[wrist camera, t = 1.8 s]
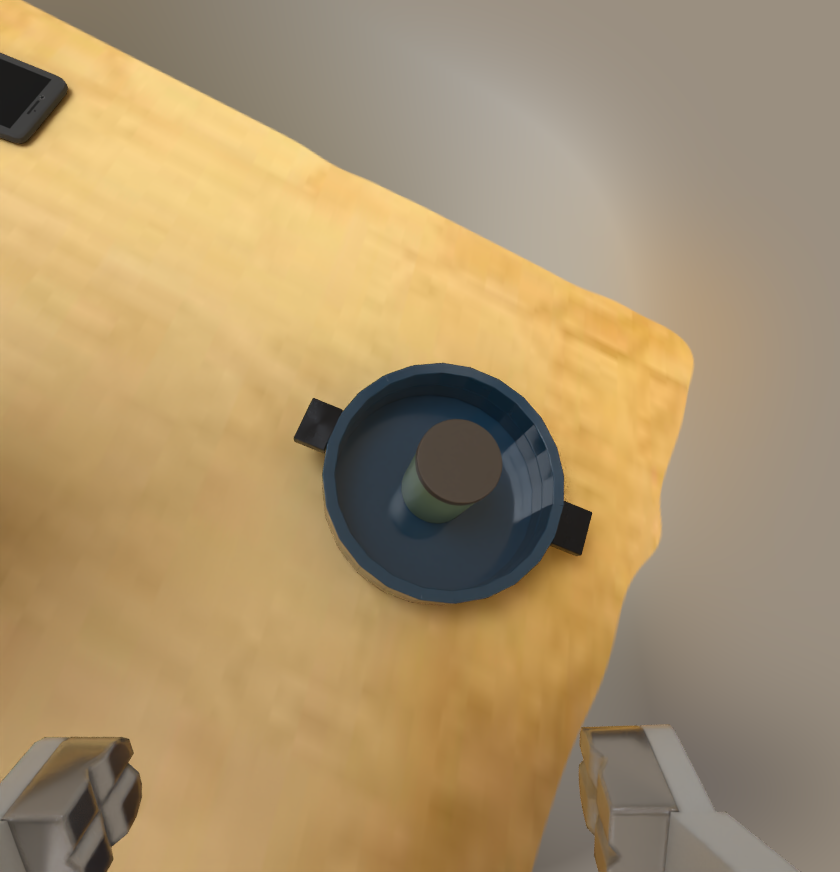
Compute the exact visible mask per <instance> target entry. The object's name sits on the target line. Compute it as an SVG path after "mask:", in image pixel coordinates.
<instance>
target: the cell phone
mask: <svg viewBox="0 0 840 872" xmlns="http://www.w3.org/2000/svg"><path fill="white" fill-rule="evenodd" d="M67 89H68V86H67V84H66V83H65V81H64V80H63V79H62V78H60V77H58V76H56V75H54V74H51V73H49V72H46V71H44V70H42V69H39V68H37V67H34V66H32V65H29V64H27V63H24V62H22V61H19V60H17V59H14V58H12V57H9V56H7V55H5V54H2V53H0V138H2V139H5V140H7V141H10V142H13V143H24V142H26V141H27V140H28V139H29V138H30V137H31V136H32V135H33V134H34V132H35V131H36V130H37V129H38V128H39V126H40V125H41V124H42V123H43V122H44V120H45V119H46V118H47V117H48V115H49V114H50V113H51V112H52V111H53V109H54V108H55V107H56V106H57V105H58V103H59V102H60V101H61V100H62V98H63V97H64V96H65V95H66V94H67Z"/></svg>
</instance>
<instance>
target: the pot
mask: <svg viewBox="0 0 840 872" xmlns="http://www.w3.org/2000/svg"><path fill="white" fill-rule="evenodd" d="M451 419H463V420H468V421H471V422H474V423H476V424H478V425H480V426H481V427H483V428H484V429H485V430H487V431H488V432H489V433H490V434H491V435H492V437H493V438H494V439H495V441H496V443H497V444H498V447H499V449H500V452H501V456H502V472H501V476H500V479H499V481H498V483H497V485H496V487H495V488H494V489H493V491H492V492H490V493H489V494H488V495H487V496H486V497H484V498H483V499H482V500H480V501H478V502H476V503H474V504H473V505H472V506H470V507H469V508H468V509H466V510H465V511H464V512H463V513H461V514H460V515H459V516H457V517H456V518H455V519H453V520H451V521H448V522H444V523H430V522H426V521H424V520H422V519H420V518H418V517H417V516H415V515H414V514H413V513H412V512H411V511H410V510H409V508H408V507H407V506H406V504H405V502H404V499H403V495H402V480H403V476H404V474H405V472H406V470H407V468H408V466H409V465H410V463H411V461H412V459H413V457H414V455H415V454H416V451H417V448H418V445H419V443H420V441H421V439H422V438H423V436H424V435H425V434H426V432H427V431H428V430H429V429H430V428H432V427H433V426H435V425H436V424H438V423H440V422H443V421H446V420H451ZM322 490H323V499H324V507H325V516H326V520H327V522H328V525H329V527H330V530H331V533H332V535H333V537H334V540H335V542H336V545H337V546H338V548H339V550H340V551H341V552H342V553H343V555H344V556H345V558H346V559H347V561H348V562H349V563H350V564H351V565H352V567H353V568H354V569H355V570H356V571H357V573H359V574H360V575H361V576H363V577H364V578H365V579H366V580H368V581H369V582H370V583H372V584H373V585H375V586H376V587H377V588H379V589H380V590H382V591H383V592H386V593H388V594H391V595H393V596H395V597H398V598H401V599H403V600H406V601H408V602H412V603H422V604H431V605H449V604H457V603H462V602H468V601H474V600H479V599H485V598H488V597H490V596H492V595H494V594H496V593H498V592H500V591H503V590H505V589H507V588H509V587H511V586H513V585H515V584H516V583H517V582H518V581H519V580H521V579H522V578H523V577H524V576H525V575H526V574H527V573H528V572H529V571H530V570H531V569H533V568H534V567H535V566H536V565H537V564H538V562H540V560H541V559H542V557H543V555H544V554H545V552H546V551H547V549H548V547H549V546H550V544H551V542H552V541H553V539H554V537H555V535H556V531H557V528H558V524H559V520H560V517H561V513H562V510H563V506H564V474H563V470H562V466H561V462H560V458H559V454H558V449H557V446H556V444H555V442H554V440H553V439H552V437H551V435H550V433H549V431H548V429H547V427H546V425H545V423H544V421H543V420H542V418H541V417H540V416H539V414H538V413H537V412H536V411H535V410H534V409H533V408H532V406H531V405H530V404H529V403H528V402H527V401H526V400H525V398H524V397H522V396H521V395H520V394H518V393H517V392H516V391H514V390H513V389H512V388H510V387H509V386H507V385H506V384H505V383H503V382H502V381H501V380H498V379H497V378H495V377H492V376H490V375H487V374H485V373H483V372H480V371H478V370H475V369H473V368H471V367H465V366H459V365H453V364H446V363H442V364H441V363H435V364H423V365H413V366H409V367H406V368H404V369H401V370H398V371H395V372H392V373H389V374H386V375H385V376H382V377H381V378H379V379H378V380H376V381H375V382H373V383H372V384H371V385H369V386H368V387H366V388H365V389H363V390H362V391H360V392H359V393H358V394H357V395H356V397H355V398H354V399H353V400H352V401H351V402H350V404H349V405H348V406H347V407H346V408H345V410H344V411H343V412H342V413H341V414H340V416H339V418H338V420H337V423H336V425H335V427H334V429H333V431H332V433H331V436H330V438H329V440H328V443H327V447H326V453H325V460H324V466H323V472H322Z"/></svg>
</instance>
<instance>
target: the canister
mask: <svg viewBox="0 0 840 872" xmlns="http://www.w3.org/2000/svg"><path fill="white" fill-rule="evenodd" d="M501 472H502V456H501V452H500V449H499V447H498V444H497V443H496V441H495V439H494V438H493V437H492V435H491V434H490V433H489V432H488V431H487V430H485V429H484V428H483V427H481V426H480V425H478V424H476V423H474V422H471V421H468V420H463V419H451V420H446V421H443V422H440V423H438V424H436V425H435V426H433V427H432V428H430V429H429V430H428V431H427V432H426V434H425V435H424V436H423V438H422V439H421V441H420V443H419V445H418V448H417V451H416V454H415V455H414V457H413V459H412V461H411V463H410V465H409V466H408V468H407V470H406V472H405V474H404V476H403V480H402V495H403V499H404V502H405V504H406V506H407V507H408V508H409V510H410V511H411V512H412V513H413V514H414V515H415V516H417V517H418V518H420V519H422V520H424V521H426V522H430V523H444V522H448V521H451V520H453V519H455V518H456V517H457V516H459V515H460V514H461V513H463V512H464V511H465V510H466V509H468V508H469V507H470V506H472V505H473V504H474V503H476V502H478V501H480V500H482V499H483V498H484V497H486V496H487V495H488V494H489V493H490V492H492V491H493V489H494V488H495V487H496V485H497V483H498V481H499V479H500V476H501Z"/></svg>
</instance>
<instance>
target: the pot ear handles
mask: <svg viewBox="0 0 840 872" xmlns="http://www.w3.org/2000/svg"><path fill="white" fill-rule="evenodd" d="M342 411H343V410H342V409H339V408H337V407H335V406H332V405H330V404H327V403H325V402H322V401H320V400H318V399H315V398H313V399H312V401H311V403H310V405H309V407H308V409H307V411H306V413H305V415H304V418H303V420H302V422H301V424H300V426H299V428H298V430H297V432H296V434H295V436H294V441H295V442H297V443H299V444H302V445H304V446H307V447H309V448H311V449H314V450H316V451H319V452H321V453H325V450H326V447H327V443H328V440H329V438H330V436H331V433H332V431H333V429H334V427H335V425H336V423H337V420H338V418H339V416H340V414H341V413H342ZM591 516H592V512H590V511H588V510H585V509H583V508H580V507H578V506H576V505H573V504H571V503H568V502H566V501H564V506H563V510H562V513H561V517H560V520H559V524H558V528H557V531H556V535H555V537H554V539H553V541H552V542H551V544H550V546H552V547H555V548H557V549H560V550H562V551H565V552H567V553H569V554H572V555H574V556H580V555H581V554H582V551H583V547H584V543H585V539H586V535H587V531H588V527H589V524H590V520H591Z"/></svg>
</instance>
